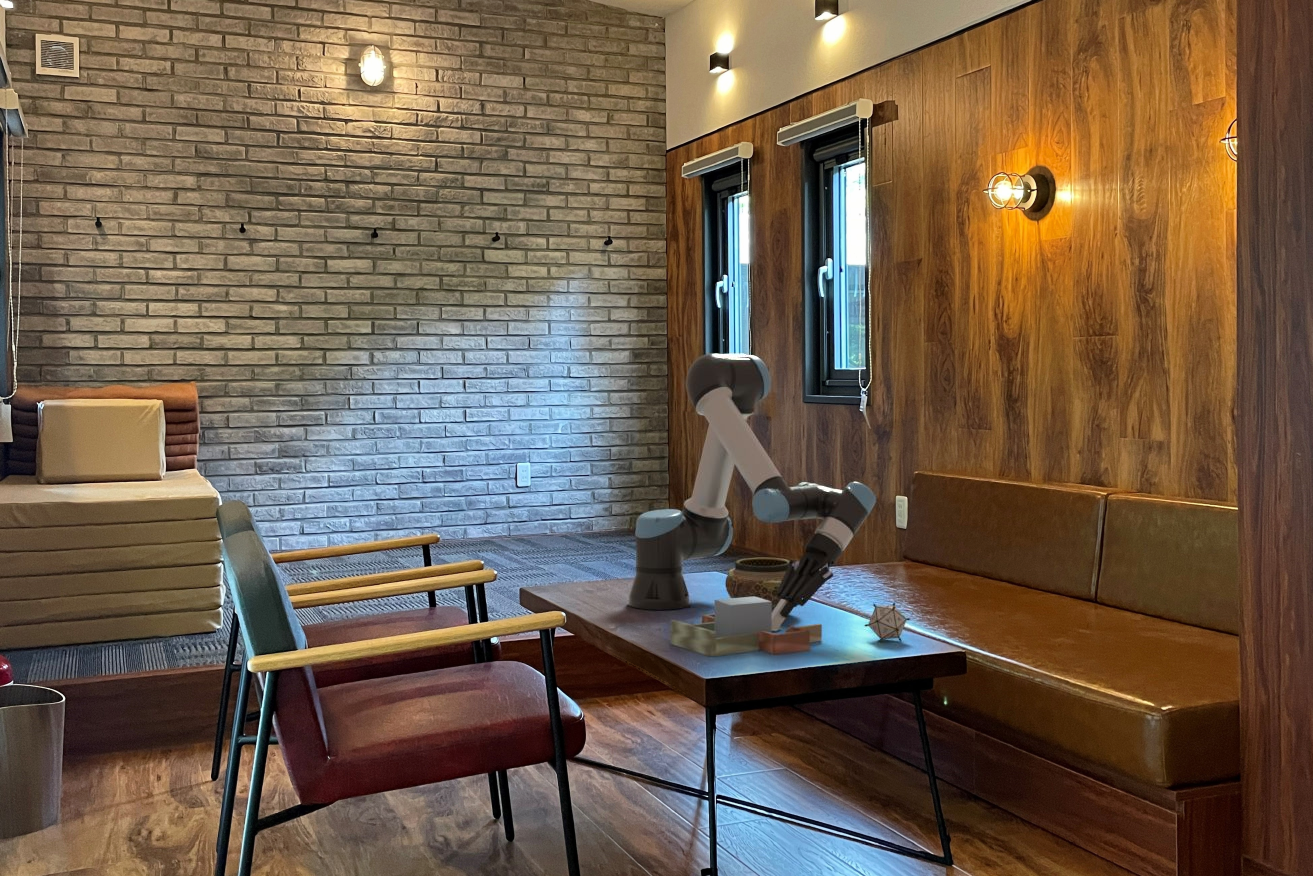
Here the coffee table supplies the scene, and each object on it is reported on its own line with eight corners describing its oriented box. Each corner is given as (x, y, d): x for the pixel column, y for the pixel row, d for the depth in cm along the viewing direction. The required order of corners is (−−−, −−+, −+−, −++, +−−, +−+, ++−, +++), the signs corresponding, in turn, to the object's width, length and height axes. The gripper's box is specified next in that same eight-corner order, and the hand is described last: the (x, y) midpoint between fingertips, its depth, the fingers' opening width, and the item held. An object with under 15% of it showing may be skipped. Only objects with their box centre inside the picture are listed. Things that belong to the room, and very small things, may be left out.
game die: (894, 659, 261) (909, 627, 255) (857, 643, 262) (871, 611, 256) (902, 632, 268) (917, 600, 262) (866, 617, 269) (880, 585, 263)
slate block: (714, 641, 261) (714, 599, 260) (754, 637, 265) (754, 596, 265) (730, 648, 254) (730, 605, 254) (771, 643, 259) (771, 601, 258)
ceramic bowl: (715, 618, 300) (702, 561, 298) (776, 596, 307) (763, 539, 305) (763, 638, 278) (749, 576, 276) (828, 613, 285) (815, 552, 282)
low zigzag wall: (656, 639, 263) (656, 616, 263) (762, 624, 279) (762, 603, 279) (728, 662, 241) (728, 637, 241) (838, 645, 257) (838, 621, 257)
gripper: (857, 556, 266) (800, 642, 258) (818, 550, 277) (761, 632, 269) (839, 534, 263) (780, 621, 254) (800, 528, 274) (742, 611, 265)
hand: (770, 626), depth 262 cm, fingers closed
